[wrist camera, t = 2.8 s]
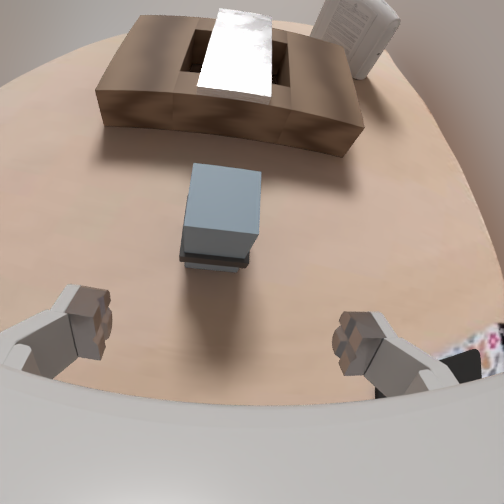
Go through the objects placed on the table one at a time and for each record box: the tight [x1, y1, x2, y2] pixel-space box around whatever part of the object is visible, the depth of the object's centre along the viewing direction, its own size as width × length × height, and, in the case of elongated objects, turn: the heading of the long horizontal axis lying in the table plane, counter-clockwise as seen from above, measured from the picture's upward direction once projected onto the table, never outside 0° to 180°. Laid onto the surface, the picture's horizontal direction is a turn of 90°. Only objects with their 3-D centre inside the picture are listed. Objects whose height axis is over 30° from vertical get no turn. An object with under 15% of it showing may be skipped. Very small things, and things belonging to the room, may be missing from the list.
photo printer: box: [309, 0, 401, 80], centre depth 31 cm, size 10×4×12 cm, turn 39°
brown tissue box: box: [95, 15, 365, 157], centre depth 28 cm, size 24×14×5 cm, turn 87°
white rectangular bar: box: [197, 8, 272, 105], centre depth 27 cm, size 6×15×4 cm, turn 177°
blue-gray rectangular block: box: [179, 163, 261, 273], centre depth 21 cm, size 5×5×8 cm
